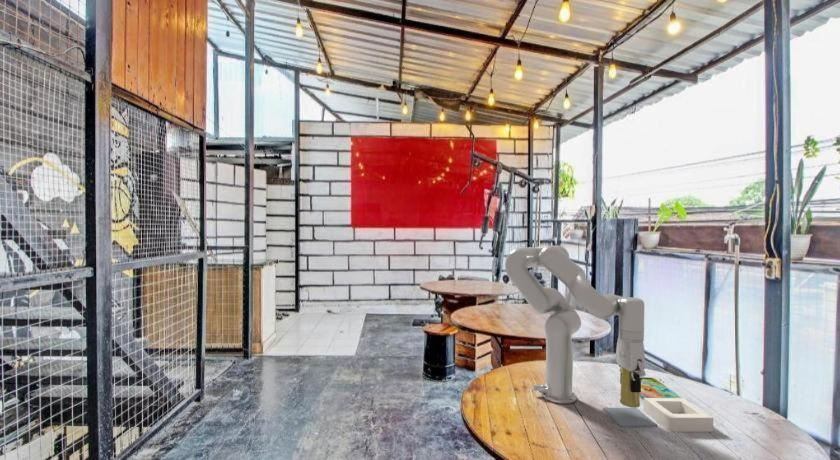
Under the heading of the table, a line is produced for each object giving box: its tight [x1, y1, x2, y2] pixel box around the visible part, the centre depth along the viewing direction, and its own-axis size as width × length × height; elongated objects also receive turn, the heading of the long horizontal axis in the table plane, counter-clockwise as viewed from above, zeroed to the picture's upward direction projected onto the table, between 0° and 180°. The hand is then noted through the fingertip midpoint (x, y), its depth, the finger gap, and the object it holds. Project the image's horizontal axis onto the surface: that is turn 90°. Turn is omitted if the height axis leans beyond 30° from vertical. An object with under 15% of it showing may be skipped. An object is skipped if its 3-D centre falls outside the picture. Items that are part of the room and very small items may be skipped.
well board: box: [643, 397, 714, 433], centre depth 132 cm, size 14×14×4 cm
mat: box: [602, 407, 658, 428], centre depth 134 cm, size 12×12×1 cm
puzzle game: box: [639, 376, 683, 401], centre depth 151 cm, size 12×5×20 cm
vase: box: [619, 367, 641, 408], centre depth 134 cm, size 6×6×14 cm
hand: (630, 387), depth 134 cm, fingers closed on vase, 5 cm apart
